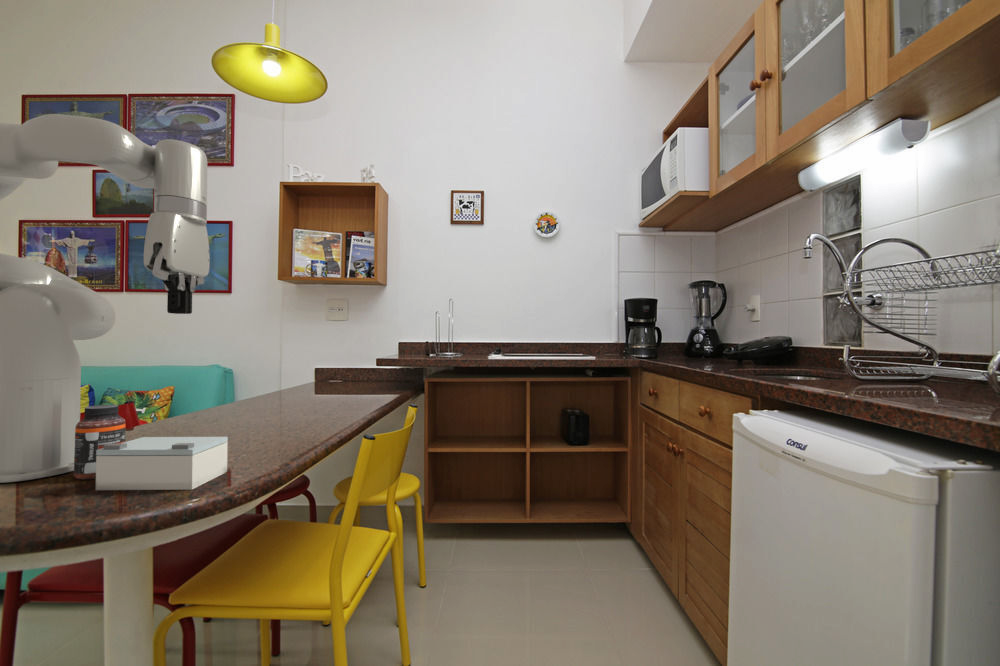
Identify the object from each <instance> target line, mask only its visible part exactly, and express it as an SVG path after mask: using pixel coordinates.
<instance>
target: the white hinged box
mask: <svg viewBox="0 0 1000 666" xmlns="http://www.w3.org/2000/svg"><path fill="white" fill-rule="evenodd" d="M228 444H229V442H228V441H227V442H225V443H222V444H220V445H217V446H214V447H212V448H209V449H207V450H204V451H201V452H199V453H196V454H194V455H99V456H96V479H95V491H143V490H144V491H145V490H146V491H157V490H158V491H159V490H160V491H163V490H166V491H168V490H169V491H170V490H171V491H172V490H175V491H176V490H177V491H178V490H185V491H187V490H194V489H196V488H198V487H200V486H202V485H204V484H205V483H208V482H210V481H212V480H214V479H216V478H217V477H219V476H221V475H224V474H225V473H227V472H228Z"/></svg>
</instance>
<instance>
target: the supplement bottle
mask: <svg viewBox="0 0 1000 666" xmlns="http://www.w3.org/2000/svg"><path fill="white" fill-rule="evenodd" d="M83 413H84V414H83V415H84V417H83V418H82V419H81V420H80V422H78V423H77V425H76V428H75V451H74V452H75V453H74V454H75V455H74V471H73V477H74V478H75V479H77V480H96V456H99V455H96V450H98V449H102V448H103V446H104V445H107V444H119V443H124V442H126V430H127V429H126V420H125V418H123V417H122V416H121V415H119V413H120V412H119V405H118V404H99V405H98V404H97V405H90V406H89V405H88V406H86V407H84V412H83Z"/></svg>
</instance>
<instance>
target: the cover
mask: <svg viewBox="0 0 1000 666" xmlns="http://www.w3.org/2000/svg"><path fill="white" fill-rule="evenodd" d="M225 442H228V436H142V437H137V438H134V439H132V440H127V441H125V442H124V443H119V444H107V445H104V446H103V448H102V449H98V450H96V455H194V454H196V453H199V452H201V451H204V450H207V449H209V448H212V447H214V446H217V445H220V444H222V443H225Z"/></svg>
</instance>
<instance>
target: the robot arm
mask: <svg viewBox="0 0 1000 666" xmlns="http://www.w3.org/2000/svg"><path fill="white" fill-rule="evenodd" d="M59 162H67V163H78V164H79V163H80V164H88V165H94V166H98V167H100V168H102V169H104V170H105V171H107V172H109V173H111V174H112V175H113V176H116V177H118V178H119V179H121V180H123V181H125V182H126V183H129V184H130V185H133V186H134V187H138V188H141V189H154V190H153V191H154V192H153V197H154V199H153V203H154V204H153V207H154V208H153V212H151V214H150V216H149V219H148V222H147V225H146V232H145V236H144V245H143V246H144V247H143V248H144V249H143V265H144V267H145V269H146V270H149V271H151V274H152V275H153V277H156V278H157V279H159V280H161V281H162V282H163V285H164V289H165V291H167V299H166V300H167V301H166V302H167V306H166V307H167V309H166V310H167V313H168V314H173V315H176V314H177V315H179V314H180V315H185V314H186V315H189V314H190V315H191V314H192V312H193V293H195V291H196V287H197V286H199V285H204V284H205V277H207V276H208V275H209V272H210V263H211V262H210V261H211V260H210V257H211V256H210V242H209V241H210V240H209V234H208V229H207V223H208V222H207V217H208V216H207V213H208V157H207V155H206V153H205V151H204V150H203V149H201V148H200V147H199V146H198V145H194V144H192V143H190V142H186V141H183V140H179V139H178V140H177V139H174V138H173V139H172V138H169V139H162V140H159V141H157V143H156V144H155V147H153V146H152V145H149V144H147V143H146V142H144V141H142V140H141V139H139V138H138V137H137V136H136V135H134V133H132V132H130V131H129V130H127V129H125V128H124V127H123V126H121V125H119V124H117V123H115V122H111V121H110V120H105V119H101V118H96V117H91V116H90V117H89V116H81V115H73V114H61V113H59V114H58V113H48V114H42V115H39V116H36V117H34V118H30V119H28V120H26V121H25V122H23V123H22V124H19V123H7V122H0V201H2V200H3V199H4V198H6V197H8V196H9V195H11V194H12V193H14V192H15V191H16V190H17V189H18V188H19V187H21V186H22V185H23V184H24V182H25V181H26V179H32V180H34V179H35V180H37V179H38V180H45V179H49V178H50V177H51V178H52V176H54V174H55V173H56V172H57V170H58V167H59ZM115 322H116V311H115V309H114V307H113V304H112V303H111V302H110V300H108V299H107V298H106V297H105V296H103V295H101V294H100V293H98V292H97V291H95V290H93V289H91V288H89V287H87V286H86V285H84V284H82V283H80V282H78V281H76V280H75V279H73V278H71V277H69V276H68V275H65V274H64V273H62V272H60V271H58V270H57V269H54V268H52V267H50V266H49V265H46V264H43V263H40V262H38V261H36V260H32V259H27V258H23V257H20V256H19V257H18V256H15V255H11V254H5V253H0V484H3V483H4V484H5V483H6V484H7V483H15V482H23V481H24V482H25V481H31V480H37V479H43V478H47V477H48V478H49V477H53V476H57V475H63V474H66V473H71V472H74V455H75V454H74V453H75V452H74V451H75V428H76V425H77V423H78V422H80V421H81V395H82V394H81V392H82V391H81V389H82V388H81V387H82V386H81V385H82V384H81V383H82V382H81V381H82V380H81V379H82V378H81V377H82V365H81V357H80V355H79V351H78V349H77V347H76V345H75V343H74V341H86V340H93V339H97V338H99V337H102V336H104V335H105V334H107V333H109V332H110V331H111V330H112V329H113V327H114V325H115Z"/></svg>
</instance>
